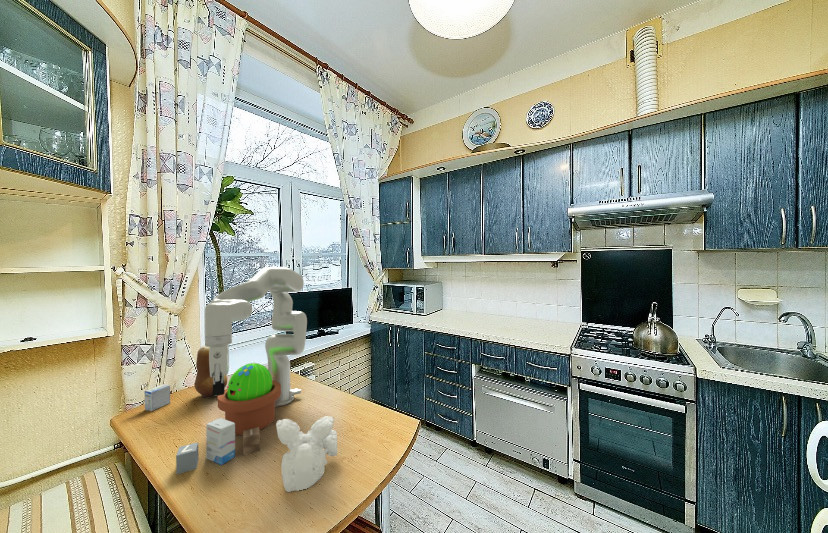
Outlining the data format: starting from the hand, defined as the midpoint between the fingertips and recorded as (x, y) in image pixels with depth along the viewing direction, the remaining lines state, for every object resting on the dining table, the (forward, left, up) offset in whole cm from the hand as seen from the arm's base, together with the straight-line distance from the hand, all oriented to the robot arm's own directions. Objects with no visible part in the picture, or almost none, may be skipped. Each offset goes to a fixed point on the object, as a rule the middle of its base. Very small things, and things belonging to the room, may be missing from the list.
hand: (218, 394), depth 98 cm
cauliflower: (-25, +20, -22) cm, 39 cm away
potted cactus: (-9, -19, -22) cm, 31 cm away
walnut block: (-9, 0, -22) cm, 24 cm away
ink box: (0, 0, -22) cm, 22 cm away
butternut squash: (+8, -57, -22) cm, 62 cm away
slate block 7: (+9, 0, -22) cm, 24 cm away
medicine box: (+28, -56, -22) cm, 67 cm away
